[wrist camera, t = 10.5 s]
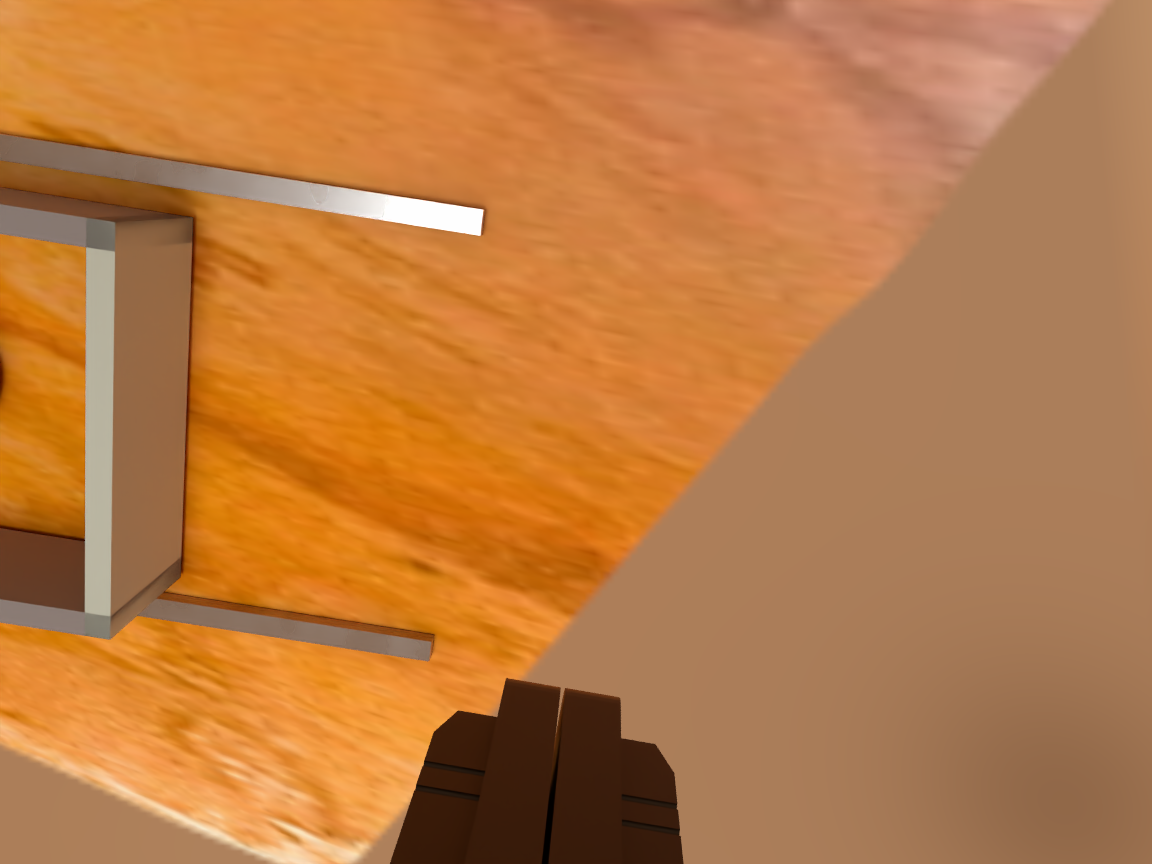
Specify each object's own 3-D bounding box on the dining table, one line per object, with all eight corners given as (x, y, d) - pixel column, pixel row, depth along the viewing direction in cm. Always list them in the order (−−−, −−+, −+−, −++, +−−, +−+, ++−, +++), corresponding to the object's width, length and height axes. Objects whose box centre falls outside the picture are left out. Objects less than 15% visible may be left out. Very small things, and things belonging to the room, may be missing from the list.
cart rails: (-129, 113, 43) (-142, 111, 42) (485, 209, 43) (483, 209, 42) (-103, 570, 49) (-114, 576, 49) (431, 654, 49) (429, 661, 49)
